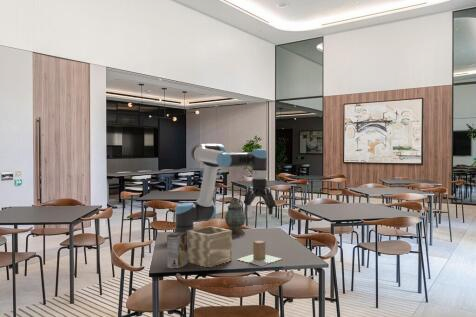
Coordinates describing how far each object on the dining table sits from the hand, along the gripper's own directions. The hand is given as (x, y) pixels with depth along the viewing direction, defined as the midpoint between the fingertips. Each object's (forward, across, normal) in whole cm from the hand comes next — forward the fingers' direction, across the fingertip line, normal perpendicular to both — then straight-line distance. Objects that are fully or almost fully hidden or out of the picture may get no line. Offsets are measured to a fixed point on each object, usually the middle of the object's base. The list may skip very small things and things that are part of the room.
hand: (259, 219), depth 191 cm
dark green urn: (+22, -54, +37) cm, 69 cm away
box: (+22, -17, -20) cm, 34 cm away
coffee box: (+22, -22, -36) cm, 48 cm away
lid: (+22, 0, 0) cm, 22 cm away
